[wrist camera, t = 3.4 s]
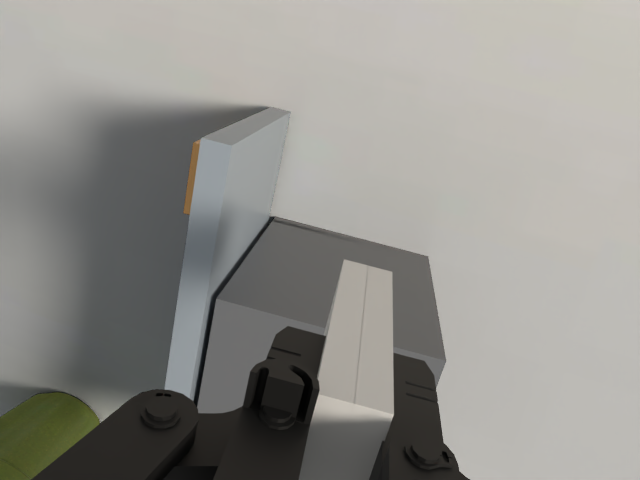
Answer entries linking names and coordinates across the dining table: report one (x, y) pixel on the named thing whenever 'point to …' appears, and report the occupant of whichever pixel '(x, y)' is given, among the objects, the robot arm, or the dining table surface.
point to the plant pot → (41, 433)
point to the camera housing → (308, 304)
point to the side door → (221, 230)
